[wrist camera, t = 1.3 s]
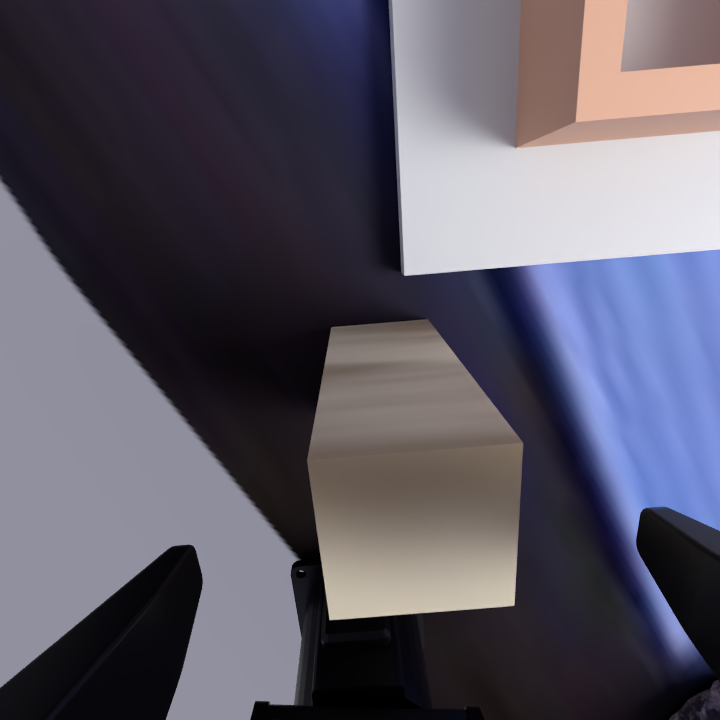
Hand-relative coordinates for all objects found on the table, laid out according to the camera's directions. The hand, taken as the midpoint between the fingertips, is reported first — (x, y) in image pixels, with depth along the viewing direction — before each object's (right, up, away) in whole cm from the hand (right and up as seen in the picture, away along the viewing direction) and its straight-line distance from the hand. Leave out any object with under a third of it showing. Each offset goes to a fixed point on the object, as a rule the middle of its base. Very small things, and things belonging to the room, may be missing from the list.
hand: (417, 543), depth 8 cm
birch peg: (0, +3, +9) cm, 10 cm away
